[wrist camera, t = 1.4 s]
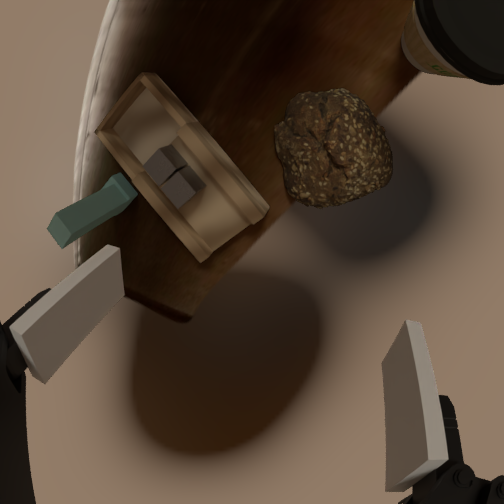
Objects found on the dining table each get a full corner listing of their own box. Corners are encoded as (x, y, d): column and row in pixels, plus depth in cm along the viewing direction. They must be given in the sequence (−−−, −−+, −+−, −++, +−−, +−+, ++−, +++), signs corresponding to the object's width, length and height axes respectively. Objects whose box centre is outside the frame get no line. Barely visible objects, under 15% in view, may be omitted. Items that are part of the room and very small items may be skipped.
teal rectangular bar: (138, 194, 39) (73, 231, 28) (122, 211, 41) (60, 251, 30) (120, 172, 39) (52, 203, 27) (106, 190, 40) (40, 224, 29)
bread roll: (398, 188, 32) (408, 201, 27) (294, 212, 36) (289, 228, 32) (367, 76, 27) (374, 71, 23) (258, 106, 32) (247, 106, 27)
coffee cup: (447, 107, 26) (520, 114, 13) (370, 58, 26) (400, 22, 13) (477, 42, 21) (551, 19, 8) (403, -8, 21) (442, -68, 8)
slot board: (269, 207, 36) (263, 217, 33) (210, 250, 41) (200, 263, 38) (155, 73, 32) (140, 71, 29) (109, 128, 36) (92, 132, 33)
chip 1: (155, 160, 35) (142, 166, 32) (171, 144, 33) (158, 148, 31) (171, 179, 35) (158, 186, 33) (188, 163, 34) (176, 169, 31)
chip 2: (172, 181, 35) (160, 188, 33) (189, 165, 34) (177, 171, 31) (189, 201, 36) (177, 209, 33) (206, 185, 35) (195, 192, 32)
